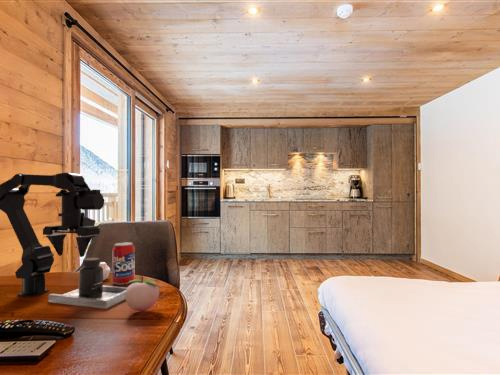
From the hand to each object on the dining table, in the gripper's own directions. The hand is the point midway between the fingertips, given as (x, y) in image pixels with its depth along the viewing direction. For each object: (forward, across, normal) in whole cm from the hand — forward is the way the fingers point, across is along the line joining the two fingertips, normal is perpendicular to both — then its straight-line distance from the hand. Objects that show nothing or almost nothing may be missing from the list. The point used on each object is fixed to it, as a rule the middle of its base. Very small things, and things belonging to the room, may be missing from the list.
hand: (71, 256), depth 99 cm
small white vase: (+13, +4, -18) cm, 23 cm away
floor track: (+13, -10, +1) cm, 16 cm away
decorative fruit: (+13, -33, +7) cm, 36 cm away
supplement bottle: (+12, -10, +1) cm, 16 cm away
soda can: (+13, -8, -16) cm, 22 cm away
